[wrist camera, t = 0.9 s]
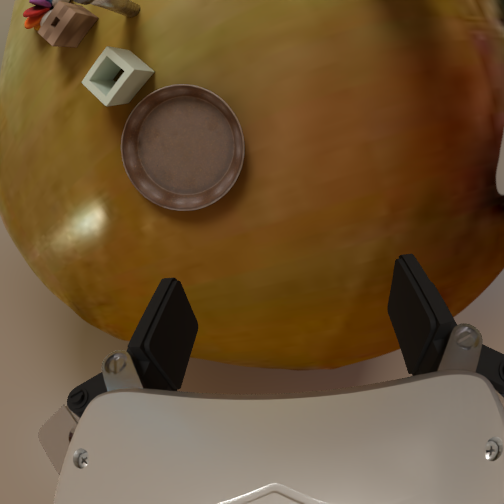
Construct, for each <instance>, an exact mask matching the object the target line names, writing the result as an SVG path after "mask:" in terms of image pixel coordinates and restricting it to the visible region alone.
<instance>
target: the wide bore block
mask: <svg viewBox="0 0 504 504" xmlns="http://www.w3.org/2000/svg"><path fill="white" fill-rule="evenodd" d="M121 69H122V70H124V71H125V72H124V73H123V74H122V75H121V77H120V78H119V79H118V81H117V82H115V81H114V80H113V79H114V78H115V76H116V75H117V74H118V72H119V71H120V70H121ZM153 73H154V71H153V70H152V69H151V68H150V67H149V66H147V65H146V64H145V63H144V62H143V61H142V60H140V59H139V58H138V57H137V56H136V55H134V54H133V53H132V52H131V51H130V50H125V49H120V48H114V47H109V46H107V47H106V48H105V50H104V51H103V52H102V54H101V55H100V56H99V58H98V59H97V60H96V62H95V63H94V65H93V66H92V67H91V69H90V70H89V72H88V73H87V75H86V76H85V78H84V79H83V81H82V82H81V83H82V84H83V85H84V86H85V87H87V88H88V89H89V90H90V91H91V92H92V93H93V94H94V95H95V96H96V97H97V98H98V99H99V100H100V101H101V102H102V103H103V104H104V105H105V106H106V107H107V106H113V105H120V104H127V103H129V102H130V101H131V100H132V99H133V97H134V96H135V95H136V94H137V92H138V91H139V90H140V89H141V87H142V86H143V85H144V84H145V83H146V81H147V80H148V79H149V78H150V77H151V76H152V75H153Z"/></svg>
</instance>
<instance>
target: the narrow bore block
mask: <svg viewBox="0 0 504 504" xmlns="http://www.w3.org/2000/svg"><path fill="white" fill-rule="evenodd" d="M97 19H98V17H96V16H95V15H94V14H92V13H91V12H89V11H88V10H87V9H85V8H84V7H82V6H80V5H76V4H71V3H67V2H63V1H58V3H57V4H56V5H55V7H54V8H53V10H52V11H51V13H50V14H49V15H48V17H47V18H46V20H45V21H44V23H43V25H42V26H41V28H40V29H39V31H38V33H39V34H40V35H41V36H42V37H43V38H44V39H45V40H46V41H47V42H49V43H50V44H51V45H52V46H62V47H77V46H78V45H79V43H80V42H81V40H82V39H83V38H84V36H85V35H86V34H87V32H88V31H89V30H90V28H91V27H92V26H93V24H94V23H95V22H96V21H97Z"/></svg>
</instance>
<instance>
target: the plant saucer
mask: <svg viewBox="0 0 504 504" xmlns="http://www.w3.org/2000/svg"><path fill="white" fill-rule="evenodd" d="M244 152H245V146H244V137H243V132H242V129H241V126H240V123H239V121H238V119H237V117H236V115H235V114H234V112H233V111H232V109H231V108H230V107H229V106H228V104H227V103H226V102H225V101H224V100H222V99H221V98H220V97H219V96H218V95H216V94H215V93H213V92H211V91H209V90H207V89H205V88H202V87H199V86H195V85H188V84H177V85H170V86H167V87H163V88H160V89H158V90H156V91H154V92H152V93H150V94H149V95H147V96H146V97H145V98H144V99H142V100H141V101H140V102H139V103H138V104H137V105H136V107H135V108H134V109H133V110H132V112H131V113H130V115H129V117H128V119H127V121H126V123H125V126H124V130H123V133H122V139H121V153H122V160H123V165H124V168H125V171H126V173H127V175H128V177H129V179H130V181H131V182H132V184H133V185H134V186H135V188H136V189H137V190H138V191H139V192H140V193H141V194H142V195H143V196H144V197H145V198H147V199H148V200H150V201H151V202H153V203H155V204H157V205H159V206H161V207H164V208H167V209H171V210H177V211H191V210H197V209H201V208H204V207H207V206H209V205H211V204H213V203H215V202H216V201H218V200H219V199H220V198H222V197H223V196H224V195H225V194H226V193H227V192H228V191H229V190H230V189H231V187H232V186H233V185H234V183H235V182H236V180H237V178H238V176H239V174H240V171H241V169H242V165H243V161H244Z"/></svg>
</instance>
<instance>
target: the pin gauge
mask: <svg viewBox="0 0 504 504" xmlns="http://www.w3.org/2000/svg"><path fill="white" fill-rule="evenodd" d="M74 1H75V2H77V3H81V4H84V5H87V4H93V5H96V6H99V7H102V8H105V9H108V10H111V11H114V12H116V13H119V14H122V15H124V16H127V17H134V16H135V15H137V14H138V12H139V11H140V6H139V5H138V4H136V3H134V2H132V1H130V0H74Z"/></svg>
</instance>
